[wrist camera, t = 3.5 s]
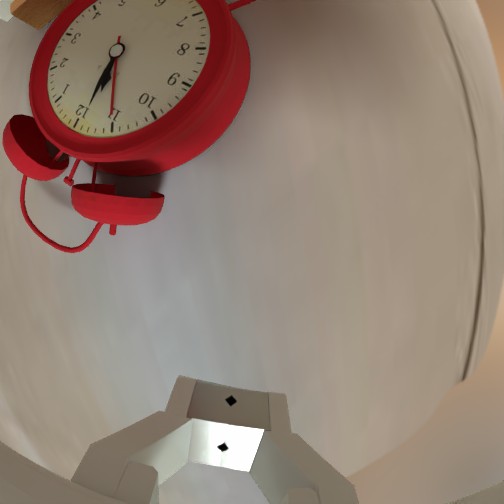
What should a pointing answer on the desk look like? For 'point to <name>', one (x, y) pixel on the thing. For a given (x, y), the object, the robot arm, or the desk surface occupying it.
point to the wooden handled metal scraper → (38, 10)
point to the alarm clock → (128, 98)
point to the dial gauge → (5, 10)
